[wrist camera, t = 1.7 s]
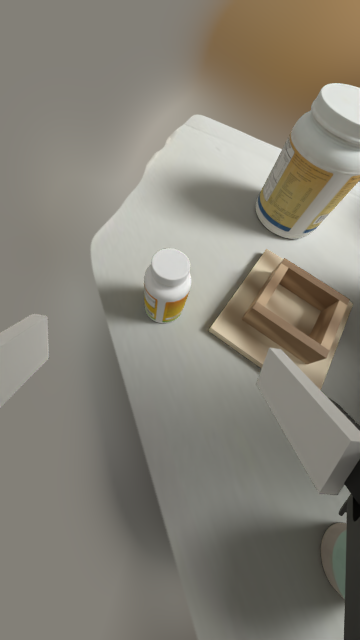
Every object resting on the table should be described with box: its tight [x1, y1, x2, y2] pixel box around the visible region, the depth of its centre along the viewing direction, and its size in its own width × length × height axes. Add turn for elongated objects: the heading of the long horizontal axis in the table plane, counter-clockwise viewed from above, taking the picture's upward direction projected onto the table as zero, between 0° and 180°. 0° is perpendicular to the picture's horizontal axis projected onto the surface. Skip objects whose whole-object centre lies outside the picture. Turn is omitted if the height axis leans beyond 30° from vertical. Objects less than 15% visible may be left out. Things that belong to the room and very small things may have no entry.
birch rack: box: [208, 249, 353, 390], centre depth 31 cm, size 18×16×5 cm
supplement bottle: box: [144, 248, 191, 323], centre depth 27 cm, size 5×5×10 cm
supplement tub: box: [256, 83, 360, 239], centre depth 35 cm, size 12×12×17 cm
